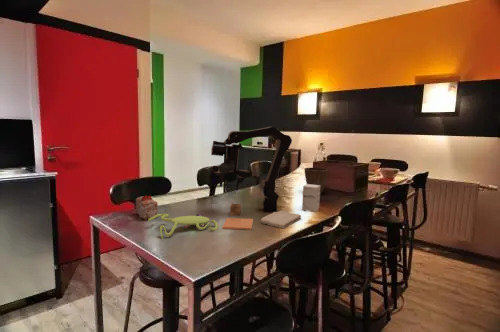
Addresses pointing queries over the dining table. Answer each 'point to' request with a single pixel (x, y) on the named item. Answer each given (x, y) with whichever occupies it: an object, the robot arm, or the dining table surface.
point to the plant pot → (316, 176)
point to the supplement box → (311, 197)
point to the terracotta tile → (238, 223)
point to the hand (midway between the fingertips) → (228, 188)
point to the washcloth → (280, 219)
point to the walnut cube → (235, 209)
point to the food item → (146, 207)
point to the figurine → (185, 222)
